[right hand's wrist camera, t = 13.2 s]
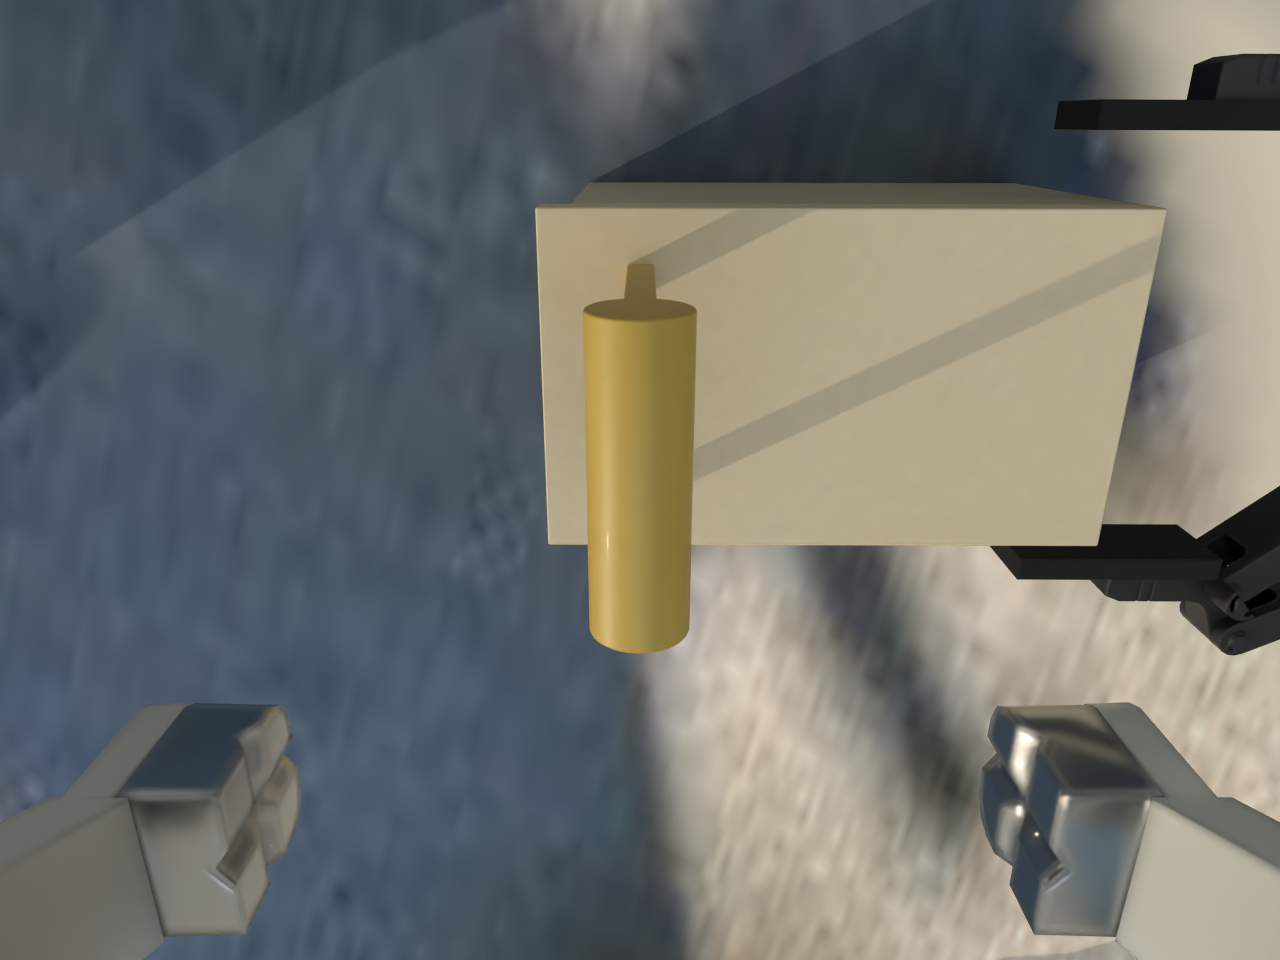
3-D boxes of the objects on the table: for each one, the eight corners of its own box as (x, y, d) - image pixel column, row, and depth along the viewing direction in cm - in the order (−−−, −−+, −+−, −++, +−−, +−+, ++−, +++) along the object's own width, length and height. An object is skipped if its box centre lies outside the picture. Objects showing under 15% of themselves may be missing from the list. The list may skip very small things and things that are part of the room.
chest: (592, 434, 36) (577, 528, 28) (587, 182, 32) (569, 203, 24) (979, 435, 36) (1079, 529, 28) (1016, 183, 32) (1144, 204, 24)
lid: (551, 528, 28) (513, 704, 19) (539, 203, 24) (485, 247, 16) (1080, 530, 28) (1269, 706, 19) (1145, 204, 24) (1410, 249, 16)
